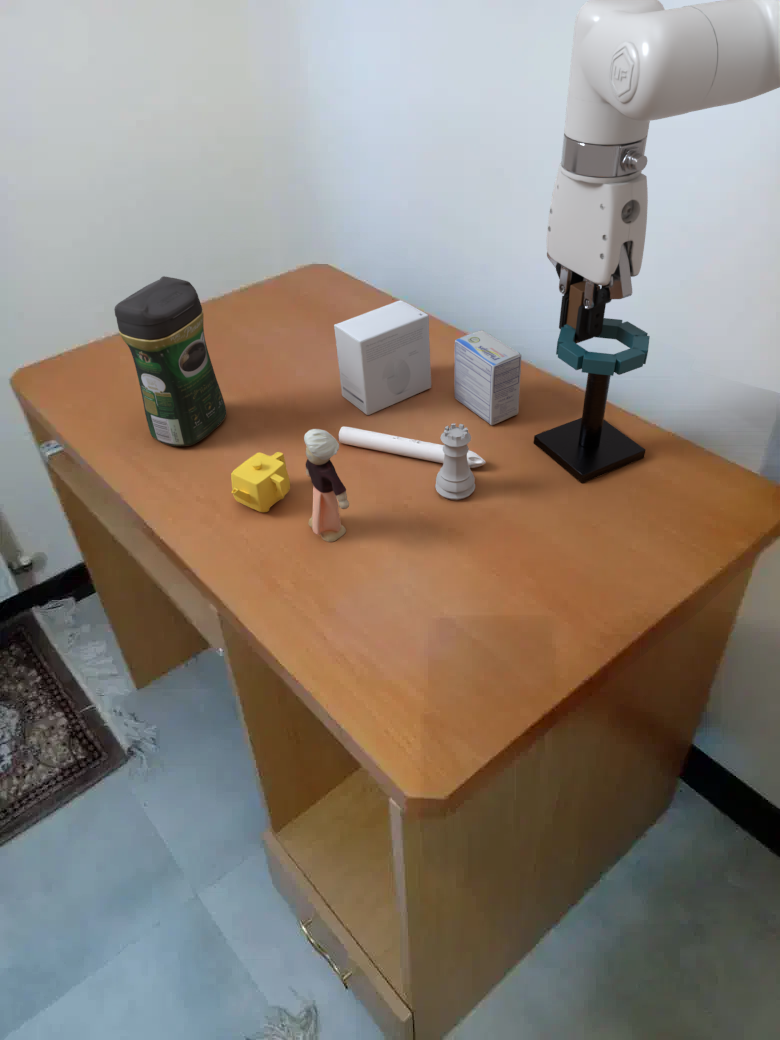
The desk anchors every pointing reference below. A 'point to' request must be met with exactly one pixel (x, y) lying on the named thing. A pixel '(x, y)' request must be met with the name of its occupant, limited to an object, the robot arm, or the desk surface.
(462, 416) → the desk surface
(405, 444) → the marker
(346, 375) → the cosmetics box
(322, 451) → the grandmother figurine
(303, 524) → the desk surface
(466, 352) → the medicine box
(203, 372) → the coffee jar
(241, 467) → the teapot
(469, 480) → the rook chess piece
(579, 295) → the teal segmented ring
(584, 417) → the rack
